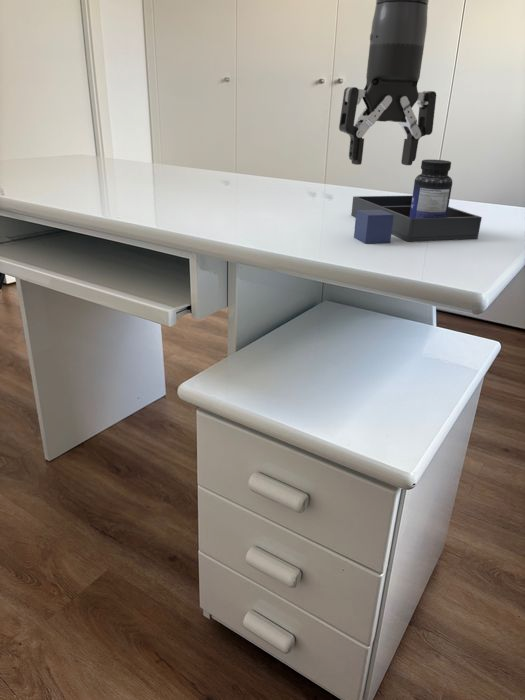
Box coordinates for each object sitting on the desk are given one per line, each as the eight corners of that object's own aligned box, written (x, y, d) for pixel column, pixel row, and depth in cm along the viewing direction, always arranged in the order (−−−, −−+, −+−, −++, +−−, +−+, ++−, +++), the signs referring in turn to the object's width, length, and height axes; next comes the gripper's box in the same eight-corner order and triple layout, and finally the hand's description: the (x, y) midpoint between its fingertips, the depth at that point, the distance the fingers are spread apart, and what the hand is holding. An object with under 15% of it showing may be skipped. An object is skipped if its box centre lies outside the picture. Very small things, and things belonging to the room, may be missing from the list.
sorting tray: (410, 213, 109) (413, 195, 107) (477, 238, 90) (482, 217, 88) (351, 215, 106) (352, 196, 104) (407, 241, 86) (410, 219, 85)
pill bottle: (412, 222, 96) (422, 158, 92) (447, 227, 94) (459, 160, 89) (404, 228, 91) (413, 160, 87) (440, 233, 89) (452, 163, 84)
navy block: (377, 236, 89) (381, 209, 87) (390, 242, 85) (394, 214, 84) (353, 237, 88) (356, 210, 86) (365, 243, 84) (368, 215, 82)
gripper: (362, 37, 70) (349, 167, 77) (456, 44, 74) (435, 167, 81) (339, 42, 77) (329, 161, 84) (427, 48, 80) (410, 162, 87)
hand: (381, 164), depth 82 cm, fingers open, 8 cm apart
